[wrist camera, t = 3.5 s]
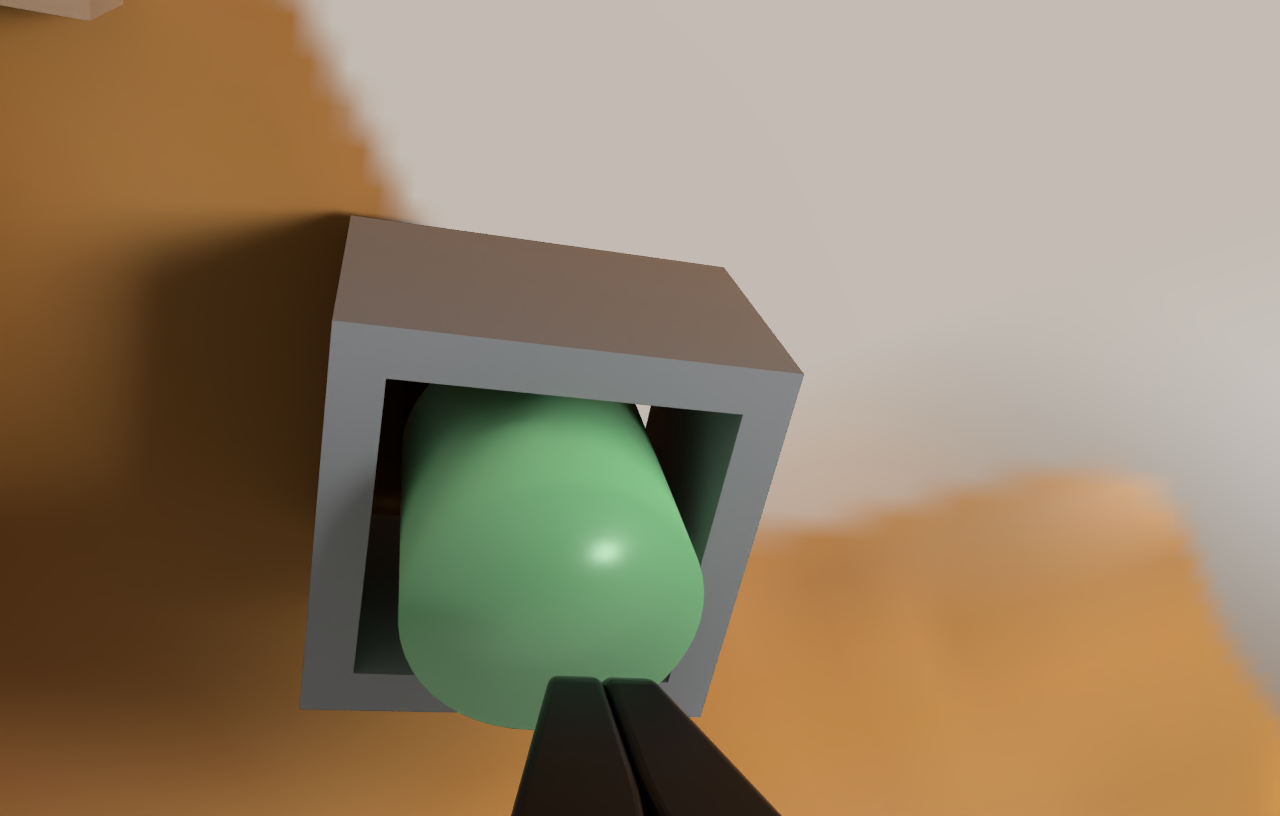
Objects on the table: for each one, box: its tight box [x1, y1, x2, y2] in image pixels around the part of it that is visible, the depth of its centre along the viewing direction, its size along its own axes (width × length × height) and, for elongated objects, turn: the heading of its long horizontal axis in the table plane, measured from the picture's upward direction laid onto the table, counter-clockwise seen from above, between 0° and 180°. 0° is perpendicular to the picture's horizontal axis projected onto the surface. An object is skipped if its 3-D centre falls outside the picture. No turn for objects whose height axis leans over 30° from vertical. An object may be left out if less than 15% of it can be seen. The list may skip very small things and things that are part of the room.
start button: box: [398, 383, 704, 730], centre depth 11 cm, size 3×3×3 cm
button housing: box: [300, 215, 804, 717], centre depth 12 cm, size 4×4×3 cm
